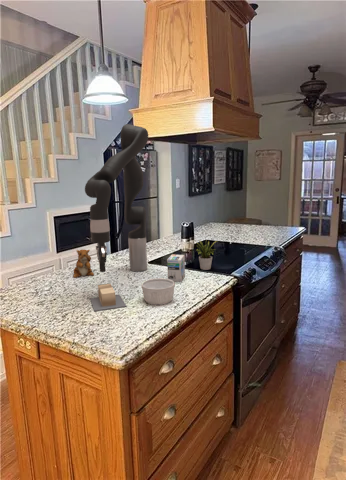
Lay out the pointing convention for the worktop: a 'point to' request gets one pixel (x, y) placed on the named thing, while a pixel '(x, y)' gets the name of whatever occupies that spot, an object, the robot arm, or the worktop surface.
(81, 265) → the stuffed squirrel
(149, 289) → the ramekin
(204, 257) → the house plant
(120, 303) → the slate mat
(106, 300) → the maple block
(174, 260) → the light bulb box
